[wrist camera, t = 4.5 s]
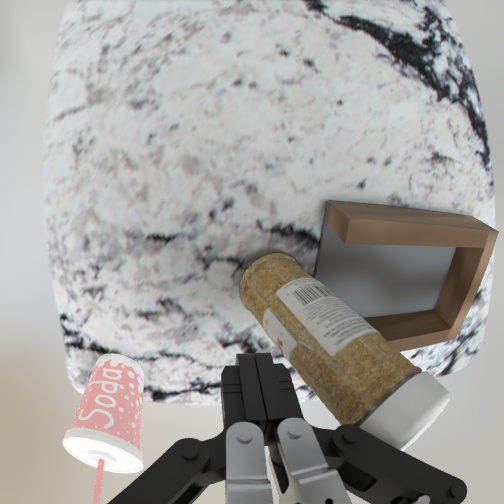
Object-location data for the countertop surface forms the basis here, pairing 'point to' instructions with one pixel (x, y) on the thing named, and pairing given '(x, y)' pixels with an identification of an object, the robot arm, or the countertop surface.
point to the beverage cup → (109, 419)
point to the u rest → (404, 268)
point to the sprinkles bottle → (341, 353)
